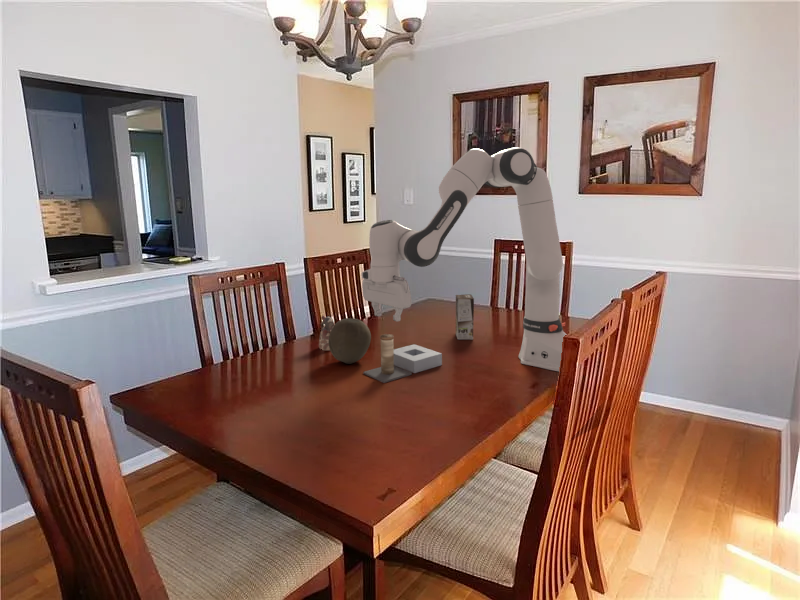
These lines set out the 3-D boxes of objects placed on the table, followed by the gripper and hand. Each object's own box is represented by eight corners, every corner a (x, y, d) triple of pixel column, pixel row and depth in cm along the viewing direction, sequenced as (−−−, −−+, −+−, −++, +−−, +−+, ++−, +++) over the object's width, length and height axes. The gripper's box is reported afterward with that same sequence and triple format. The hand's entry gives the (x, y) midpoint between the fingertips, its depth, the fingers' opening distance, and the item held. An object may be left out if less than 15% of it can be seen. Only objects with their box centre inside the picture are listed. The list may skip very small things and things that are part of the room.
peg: (396, 372, 170) (396, 336, 167) (386, 375, 167) (385, 338, 165) (388, 369, 173) (388, 333, 170) (378, 372, 170) (377, 335, 168)
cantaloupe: (365, 369, 175) (363, 325, 171) (324, 367, 177) (321, 323, 174) (375, 356, 188) (374, 314, 185) (337, 354, 191) (335, 313, 188)
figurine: (329, 351, 194) (327, 319, 192) (315, 348, 198) (313, 317, 196) (342, 346, 200) (341, 315, 197) (328, 343, 204) (327, 313, 201)
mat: (411, 374, 169) (411, 372, 169) (384, 383, 163) (384, 381, 163) (390, 366, 178) (390, 364, 178) (363, 373, 171) (363, 371, 171)
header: (441, 364, 178) (441, 353, 177) (414, 373, 171) (414, 361, 170) (414, 355, 189) (414, 344, 188) (387, 362, 181) (387, 351, 181)
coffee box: (473, 339, 206) (474, 298, 203) (457, 339, 207) (457, 298, 203) (471, 333, 215) (471, 293, 212) (455, 333, 215) (455, 294, 212)
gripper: (415, 276, 157) (417, 322, 160) (374, 269, 173) (376, 311, 176) (398, 279, 153) (400, 326, 156) (358, 272, 169) (360, 315, 172)
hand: (387, 318), depth 166 cm, fingers open, 8 cm apart
